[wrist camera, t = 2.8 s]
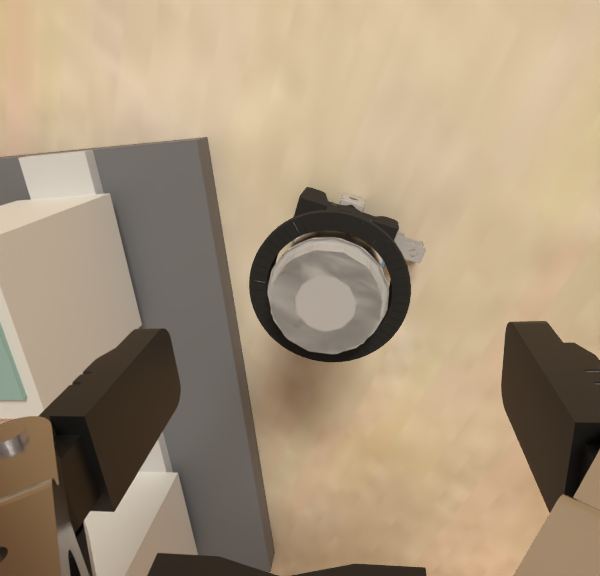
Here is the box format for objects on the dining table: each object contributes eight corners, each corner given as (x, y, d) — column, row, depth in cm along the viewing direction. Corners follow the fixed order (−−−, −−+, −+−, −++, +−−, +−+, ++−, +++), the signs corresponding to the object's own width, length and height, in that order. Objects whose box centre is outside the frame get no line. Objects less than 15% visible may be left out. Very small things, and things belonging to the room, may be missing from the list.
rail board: (207, 137, 23) (91, 167, 14) (274, 552, 33) (234, 734, 24) (-40, 161, 26) (-286, 200, 16) (93, 542, 36) (-9, 704, 26)
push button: (441, 198, 23) (485, 268, 14) (400, 294, 25) (415, 411, 16) (309, 155, 23) (265, 196, 14) (279, 254, 25) (225, 347, 16)
